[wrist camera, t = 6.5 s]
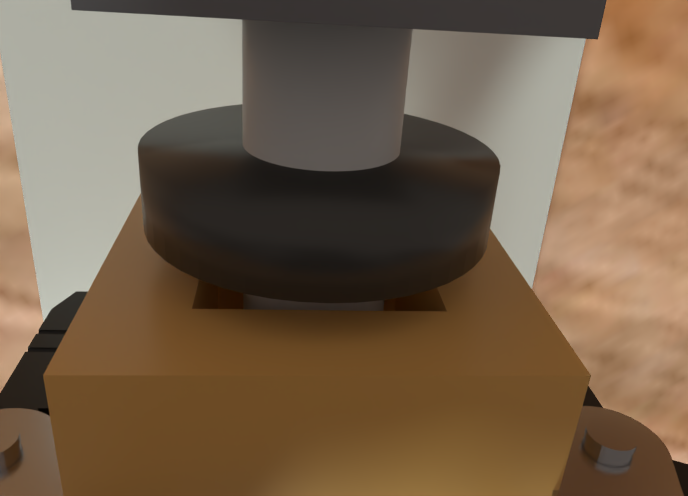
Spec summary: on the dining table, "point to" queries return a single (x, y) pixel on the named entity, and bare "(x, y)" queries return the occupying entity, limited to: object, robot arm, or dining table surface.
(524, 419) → the sleeve
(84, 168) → the cable stand
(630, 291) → the dining table surface
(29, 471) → the robot arm
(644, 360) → the dining table surface
